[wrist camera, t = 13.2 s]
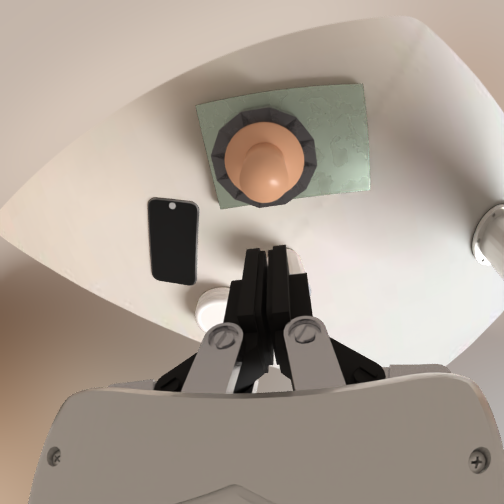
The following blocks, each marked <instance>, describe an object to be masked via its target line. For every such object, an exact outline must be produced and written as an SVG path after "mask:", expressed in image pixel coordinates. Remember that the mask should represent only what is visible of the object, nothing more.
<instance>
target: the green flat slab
mask: <svg viewBox="0 0 504 504" xmlns="http://www.w3.org/2000/svg"><path fill="white" fill-rule="evenodd" d="M196 110H197V115H198V119H199V123H200V127H201V132H202V136H203V140H204V144H205V148H206V152H207V157H208V161H209V165H210V169H211V173H212V177H213V181H214V185H215V189H216V193H217V197H218V201H219V205H220V209H227V208H233V207H240V206H246V205H253V206H256V207H258V208H262V207H269V206H276V205H283V204H286V203H288V202H289V201H291V200H292V199H296V198H304V197H312V196H320V195H329V194H338V193H347V192H356V191H367V190H370V159H369V141H368V127H367V116H366V106H365V97H364V89H363V84H338V85H321V86H309V87H298V88H289V89H281V90H274V91H267V92H260V93H254V94H248V95H242V96H237V97H232V98H227V99H222V100H217V101H213V102H208V103H204V104H200V105H196ZM256 122H272V123H276V124H279V125H281V126H283V127H285V128H287V129H288V130H289V131H291V132H292V133H293V134H294V135H295V137H296V138H297V140H298V141H299V143H300V145H301V147H302V150H303V154H304V168H303V172H302V174H301V176H300V178H299V180H298V181H297V183H296V184H295V185H294V186H293V187H292V188H291V189H290V190H288V191H287V192H285V193H284V194H283V195H282V196H281V197H280V198H279V199H277V200H275V201H273V202H269V203H260V202H256V201H253V200H251V199H250V198H248V197H247V196H246V195H245V194H244V193H243V191H241V190H240V189H238V188H237V187H236V186H235V185H234V184H233V182H232V181H231V180H230V178H229V176H228V174H227V171H226V168H225V153H226V149H227V146H228V144H229V142H230V141H231V139H232V138H233V136H234V135H235V134H236V133H237V132H238V131H239V130H240V129H242V128H243V127H245V126H247V125H249V124H252V123H256Z"/></svg>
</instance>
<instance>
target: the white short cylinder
mask: <svg viewBox="0 0 504 504" xmlns="http://www.w3.org/2000/svg"><path fill="white" fill-rule="evenodd" d="M229 290H230V288H225V287H220V288H214V289H211V290H208V291H206V292H205V293H204V294H203V295H202V296H201V297H200V298H199V300H198V303H197V307H196V310H195V320H196V323H197V325H198V326H199V327H200V328H201V329H202V330H203V331H204V332H205V333H207V331H208V330H209V329H210V328H212V327H213V326H215V325H217V324H220V323H223V321H224V316H225V311H226V305H227V300H228V295H229Z"/></svg>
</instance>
